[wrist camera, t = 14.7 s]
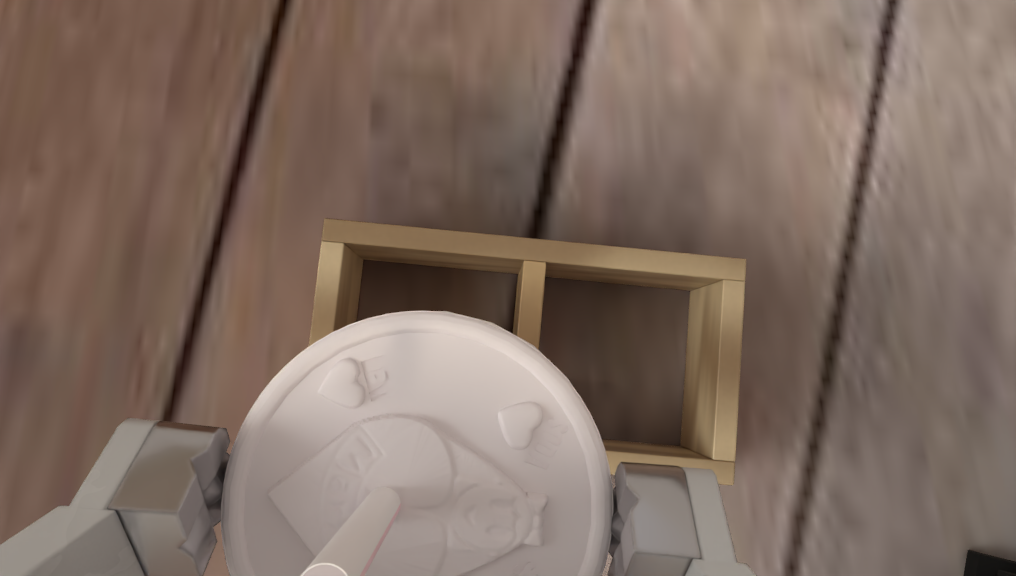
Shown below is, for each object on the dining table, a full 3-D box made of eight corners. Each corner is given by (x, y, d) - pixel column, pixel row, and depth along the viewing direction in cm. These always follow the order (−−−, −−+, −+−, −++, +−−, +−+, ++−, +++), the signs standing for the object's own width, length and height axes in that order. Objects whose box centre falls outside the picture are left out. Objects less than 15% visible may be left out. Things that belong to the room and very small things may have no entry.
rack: (698, 468, 35) (734, 486, 30) (322, 434, 34) (295, 447, 29) (710, 273, 36) (747, 258, 31) (346, 238, 35) (323, 217, 30)
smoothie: (353, 320, 21) (105, 237, 7) (565, 344, 21) (729, 308, 7) (324, 539, 20) (-16, 929, 6) (543, 562, 20) (679, 987, 7)
